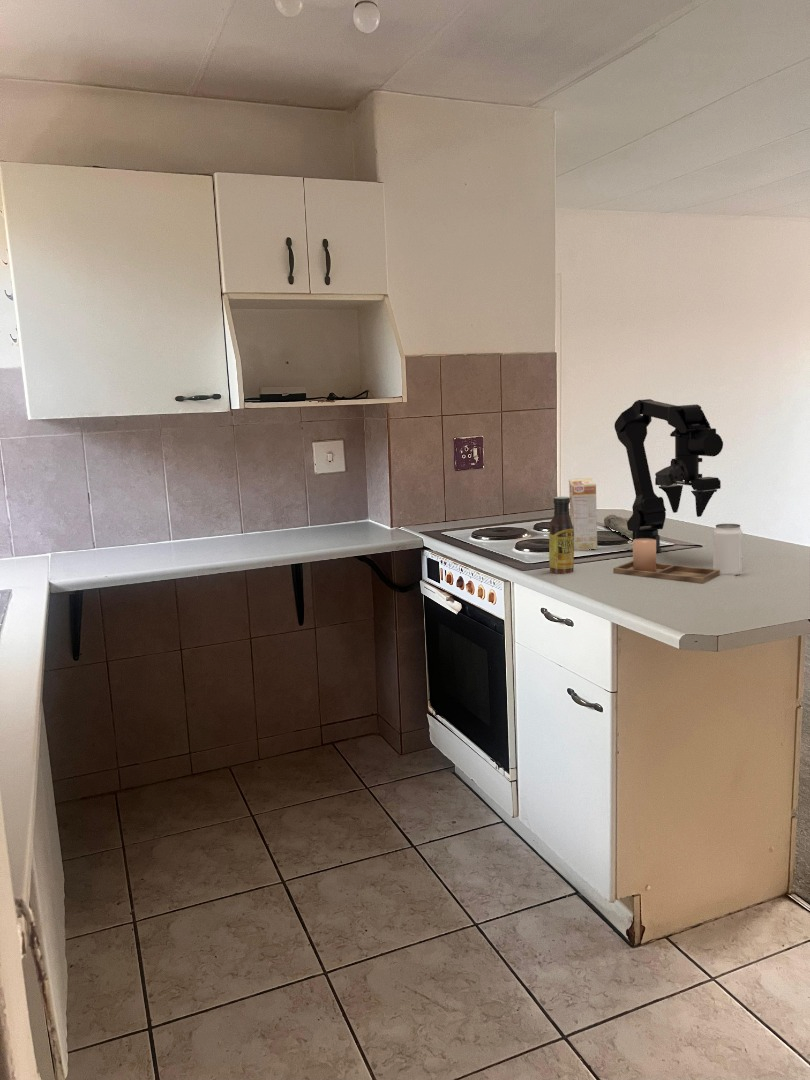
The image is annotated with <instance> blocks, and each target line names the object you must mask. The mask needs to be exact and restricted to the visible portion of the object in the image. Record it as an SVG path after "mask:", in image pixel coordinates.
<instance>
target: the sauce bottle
mask: <svg viewBox="0 0 810 1080" xmlns="http://www.w3.org/2000/svg"><path fill="white" fill-rule="evenodd" d="M553 507H554V508H553V509H554V510H553V517H552V518H551V520H550V522H549V534H548V535H549V538H548V539H549V540H548V542H549V545H548V546H549V547H548V548H549V550H548V551H549V553H548V554H549V556H548V558H549V561H548V562H549V563H548V565H549V573H550V574H555V575H565V574H571V573H573V572H574V567H575V559H574V558H575V551H574V528H573V525H572V522H571V519H570V496H554V497H553Z"/></svg>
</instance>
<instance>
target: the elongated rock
mask: <svg viewBox="0 0 810 1080" xmlns="http://www.w3.org/2000/svg"><path fill="white" fill-rule="evenodd" d="M629 519H630V517H629V518H627V517H622V516H617V515H616V514H608V515H607V516H606V517H604V519H603V523H604V525H605V526H607V528H608V527H610V528H611V529H613V530H615V531H618V532H620V533H623V534H626V535H628V536H630V537H631V538H632V539H633V531H629V530H628V528H627V522H628V520H629ZM620 533H619V534H620Z"/></svg>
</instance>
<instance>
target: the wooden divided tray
mask: <svg viewBox="0 0 810 1080" xmlns="http://www.w3.org/2000/svg"><path fill="white" fill-rule="evenodd" d="M612 571H613V573H612V574H617V575H626V576H634V577H640V578H650V579H660V580H666V581H668V580H670V581H677V582H685V583H694V584H701V585H702V584H705V583H707V582H709V581H711V580H713V579H715V578H717V577H719V576H721V574H720V570H715V569H713V568H703V567H697V566H696V567H695V566H686V565H678V564H677V565H676V564H668V563H666V564H665V563H657V562H656V572H648V571H639V570H633V560H631V561H628V562H626V563H623V564H622V565H621V564H620V565H618V566H616V567H613V570H612Z"/></svg>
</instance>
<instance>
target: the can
mask: <svg viewBox="0 0 810 1080" xmlns="http://www.w3.org/2000/svg"><path fill="white" fill-rule="evenodd" d="M712 557H713V566H712V567H713V568H712V569H715V570H720V575H733V577H736V576H740V575H741V574H742V569H743V531H742V529H741V524H738V523H718V524H715V528H714V531H713V556H712Z"/></svg>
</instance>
